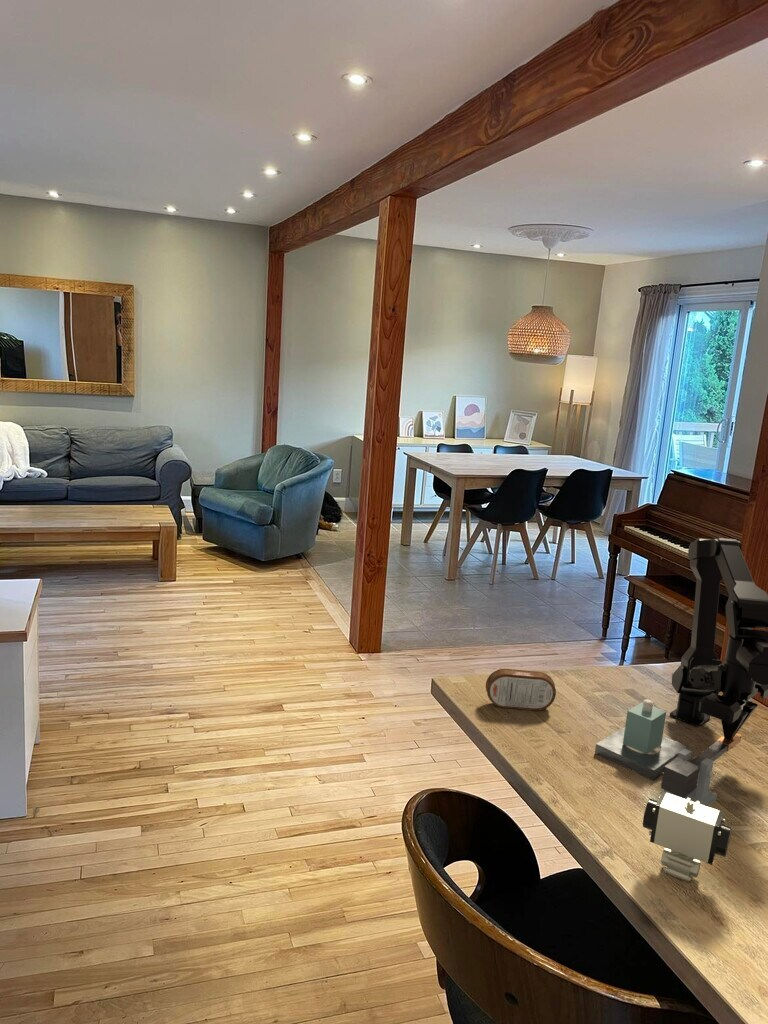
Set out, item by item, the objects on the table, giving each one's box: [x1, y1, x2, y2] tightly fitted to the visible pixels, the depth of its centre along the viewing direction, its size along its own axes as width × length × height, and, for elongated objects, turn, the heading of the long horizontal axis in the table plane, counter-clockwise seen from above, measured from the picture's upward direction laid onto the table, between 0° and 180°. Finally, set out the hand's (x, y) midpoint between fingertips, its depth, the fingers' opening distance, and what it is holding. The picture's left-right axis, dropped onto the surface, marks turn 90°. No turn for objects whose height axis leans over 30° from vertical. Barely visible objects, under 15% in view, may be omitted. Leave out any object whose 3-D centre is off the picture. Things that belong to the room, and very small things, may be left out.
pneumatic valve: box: [642, 790, 733, 883], centre depth 115 cm, size 6×12×12 cm, turn 58°
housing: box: [623, 699, 667, 754], centre depth 149 cm, size 6×5×9 cm
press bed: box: [594, 726, 689, 781], centre depth 150 cm, size 14×12×2 cm
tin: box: [485, 668, 557, 711], centre depth 166 cm, size 15×3×8 cm, turn 87°
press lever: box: [660, 732, 742, 798], centre depth 139 cm, size 26×4×4 cm, turn 134°
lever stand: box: [662, 748, 718, 807], centre depth 136 cm, size 6×7×8 cm
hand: (728, 738), depth 145 cm, fingers closed, pressing on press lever
